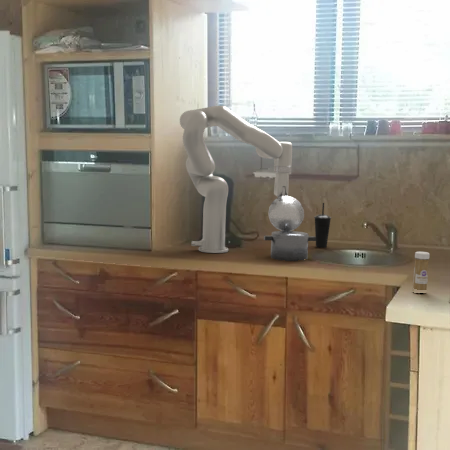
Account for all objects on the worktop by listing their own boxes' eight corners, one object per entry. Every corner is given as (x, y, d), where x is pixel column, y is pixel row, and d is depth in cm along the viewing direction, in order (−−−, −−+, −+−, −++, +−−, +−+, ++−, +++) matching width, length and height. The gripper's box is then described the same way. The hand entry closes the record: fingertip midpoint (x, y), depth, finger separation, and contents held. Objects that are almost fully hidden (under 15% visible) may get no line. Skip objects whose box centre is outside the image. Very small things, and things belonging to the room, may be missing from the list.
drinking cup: (329, 245, 321) (331, 202, 318) (330, 248, 313) (332, 204, 311) (312, 245, 322) (314, 201, 319) (312, 247, 314) (315, 203, 312)
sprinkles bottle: (418, 294, 227) (421, 253, 225) (409, 291, 231) (412, 251, 229) (429, 293, 229) (432, 253, 227) (420, 290, 233) (423, 250, 231)
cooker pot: (266, 260, 279) (267, 235, 278) (260, 253, 295) (261, 229, 294) (318, 261, 281) (319, 236, 280) (309, 254, 297) (310, 230, 296)
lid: (268, 195, 296) (267, 197, 299) (269, 230, 293) (267, 231, 296) (303, 196, 297) (302, 197, 300) (304, 231, 294) (302, 232, 297)
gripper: (271, 169, 313) (269, 209, 316) (276, 170, 298) (275, 213, 301) (288, 169, 314) (286, 210, 316) (294, 171, 299) (292, 214, 302)
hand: (280, 211), depth 309 cm, fingers closed
